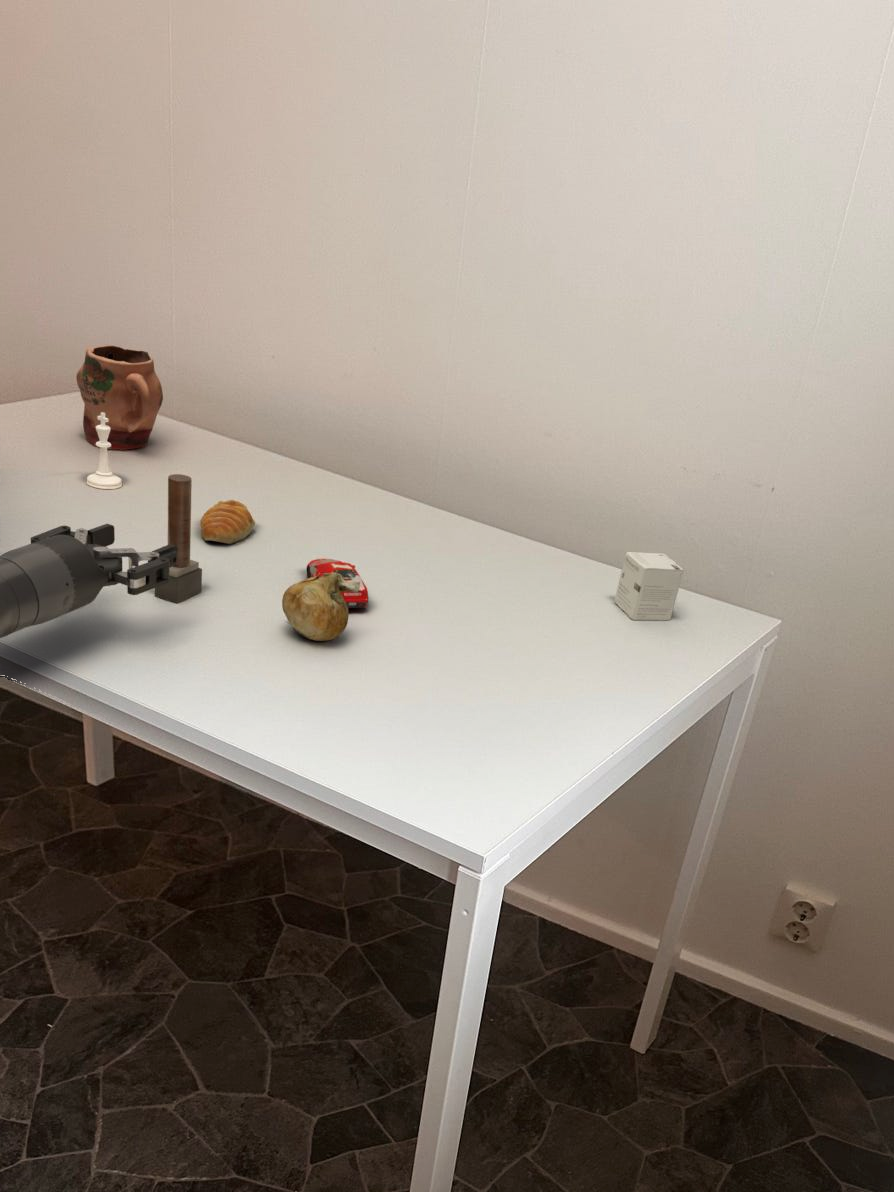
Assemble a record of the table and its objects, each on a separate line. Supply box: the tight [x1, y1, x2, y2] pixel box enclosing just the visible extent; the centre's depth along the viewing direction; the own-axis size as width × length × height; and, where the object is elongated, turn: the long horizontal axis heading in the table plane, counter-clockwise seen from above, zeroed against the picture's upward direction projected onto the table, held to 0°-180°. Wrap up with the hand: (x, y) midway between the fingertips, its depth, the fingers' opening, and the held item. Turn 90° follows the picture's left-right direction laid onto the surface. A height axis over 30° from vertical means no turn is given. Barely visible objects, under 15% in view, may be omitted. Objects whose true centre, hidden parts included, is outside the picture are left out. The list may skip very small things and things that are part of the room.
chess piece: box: [86, 412, 123, 490], centre depth 169 cm, size 5×5×10 cm
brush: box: [154, 473, 203, 604], centre depth 138 cm, size 5×3×14 cm, turn 156°
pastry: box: [200, 499, 256, 545], centre depth 160 cm, size 9×7×4 cm
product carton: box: [614, 551, 684, 621], centre depth 159 cm, size 6×6×7 cm
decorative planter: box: [75, 344, 164, 450], centre depth 184 cm, size 20×12×14 cm, turn 42°
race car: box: [306, 558, 369, 609], centre depth 148 cm, size 13×5×4 cm, turn 22°
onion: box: [281, 572, 360, 642], centre depth 135 cm, size 8×8×8 cm
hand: (143, 543), depth 132 cm, fingers open, 8 cm apart
